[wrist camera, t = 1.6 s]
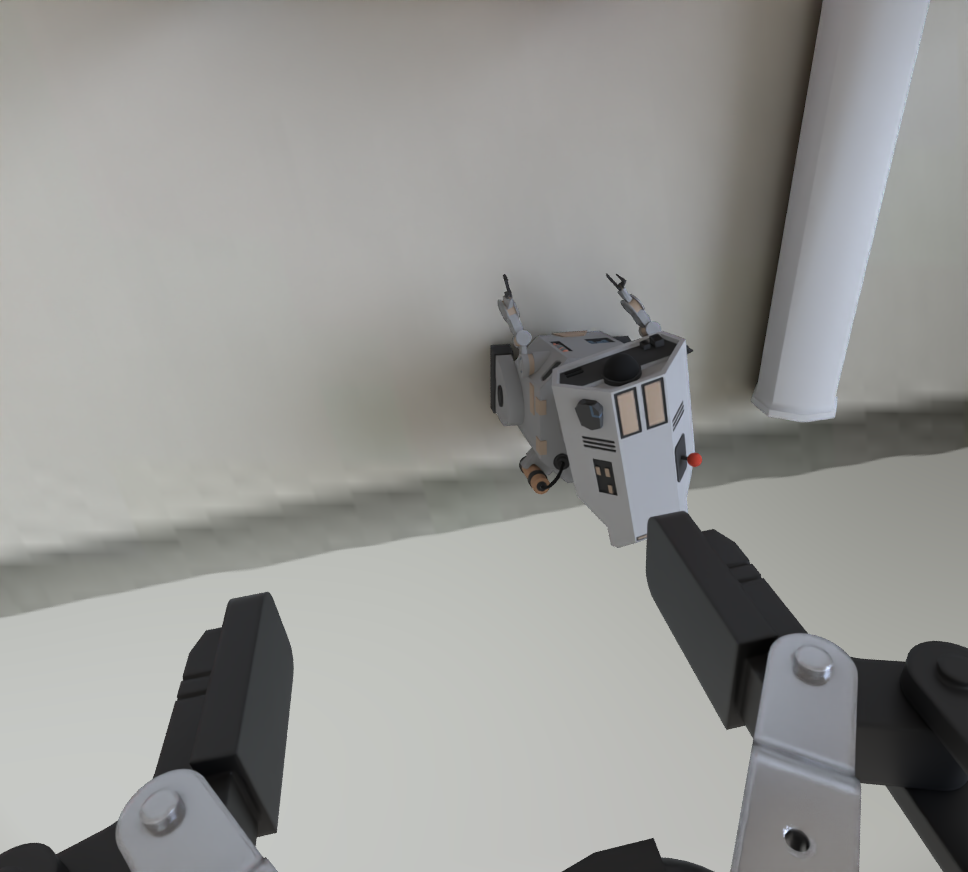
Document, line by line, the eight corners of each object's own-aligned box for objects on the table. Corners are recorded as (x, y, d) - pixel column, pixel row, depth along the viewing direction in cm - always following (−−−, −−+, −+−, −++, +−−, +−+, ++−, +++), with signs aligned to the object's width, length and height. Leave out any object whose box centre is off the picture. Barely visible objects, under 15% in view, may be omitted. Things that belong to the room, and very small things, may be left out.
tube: (846, -70, 28) (759, 421, 41) (979, -83, 28) (849, 423, 40) (812, -53, 33) (743, 385, 45) (926, -63, 32) (824, 386, 45)
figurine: (635, 243, 38) (774, 331, 25) (617, 413, 44) (723, 556, 31) (485, 250, 37) (551, 347, 24) (486, 425, 43) (540, 578, 30)
